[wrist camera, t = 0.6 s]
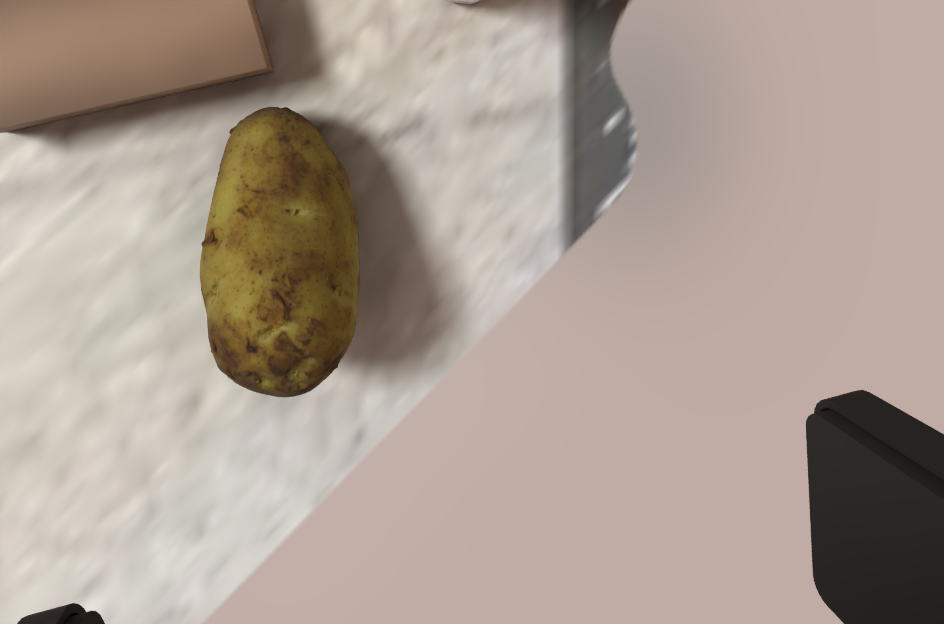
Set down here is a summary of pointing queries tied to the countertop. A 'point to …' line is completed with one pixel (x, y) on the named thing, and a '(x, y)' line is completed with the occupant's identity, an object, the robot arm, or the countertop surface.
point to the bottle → (464, 1)
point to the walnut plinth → (119, 53)
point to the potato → (280, 256)
